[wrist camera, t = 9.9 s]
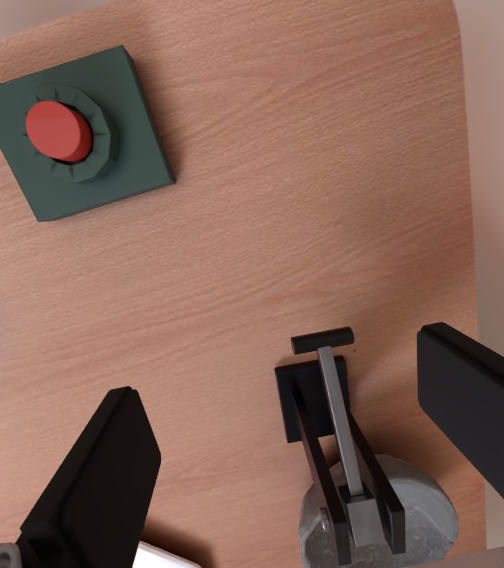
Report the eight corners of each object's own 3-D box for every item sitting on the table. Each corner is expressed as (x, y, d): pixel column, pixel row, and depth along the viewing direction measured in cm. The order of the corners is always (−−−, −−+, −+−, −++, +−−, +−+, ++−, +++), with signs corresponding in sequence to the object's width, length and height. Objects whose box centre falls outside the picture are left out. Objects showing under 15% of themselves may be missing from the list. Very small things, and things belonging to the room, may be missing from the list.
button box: (132, 58, 23) (112, 30, 19) (176, 183, 26) (166, 179, 22) (-6, 102, 23) (-53, 82, 19) (53, 220, 26) (22, 224, 22)
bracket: (274, 367, 32) (306, 499, 18) (342, 354, 32) (427, 475, 18) (285, 435, 35) (322, 595, 21) (348, 423, 35) (426, 573, 21)
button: (79, 102, 20) (65, 93, 19) (100, 153, 22) (89, 149, 20) (32, 116, 21) (15, 109, 19) (56, 167, 22) (41, 164, 20)
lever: (289, 337, 25) (292, 337, 22) (344, 326, 25) (353, 326, 22) (327, 527, 22) (336, 551, 20) (389, 515, 22) (405, 537, 20)
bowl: (432, 427, 36) (486, 487, 29) (399, 524, 41) (438, 598, 33) (297, 423, 35) (316, 486, 27) (279, 525, 39) (291, 603, 32)
